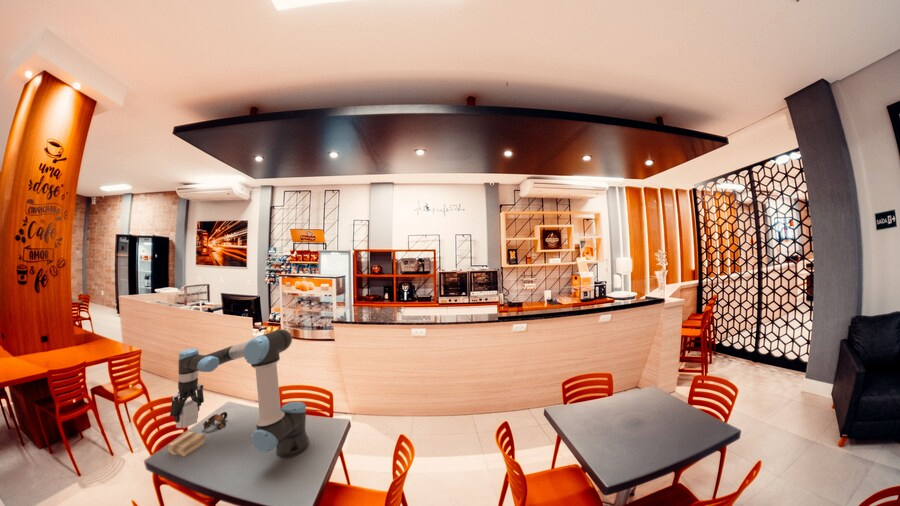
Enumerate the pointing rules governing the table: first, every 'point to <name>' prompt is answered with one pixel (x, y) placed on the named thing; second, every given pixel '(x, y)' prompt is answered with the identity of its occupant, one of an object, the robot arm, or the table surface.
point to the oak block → (186, 443)
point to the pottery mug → (218, 418)
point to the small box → (189, 413)
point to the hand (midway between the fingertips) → (187, 422)
